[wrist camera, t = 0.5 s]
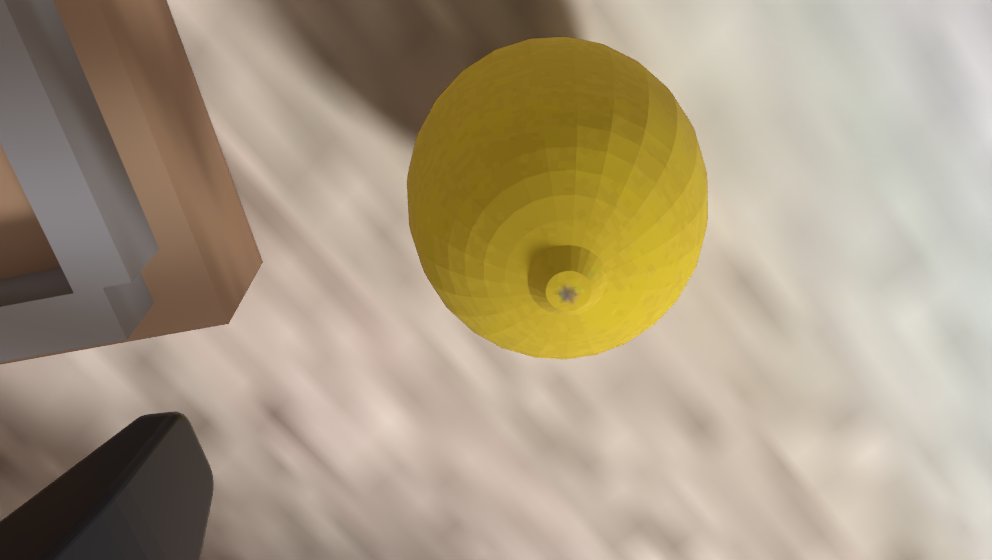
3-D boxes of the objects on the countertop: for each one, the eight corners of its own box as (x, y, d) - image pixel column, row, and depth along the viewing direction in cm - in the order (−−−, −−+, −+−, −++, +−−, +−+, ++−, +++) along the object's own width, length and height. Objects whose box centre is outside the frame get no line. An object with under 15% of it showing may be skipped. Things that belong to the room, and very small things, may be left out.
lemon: (377, 90, 19) (305, 240, 12) (592, -49, 18) (649, 29, 11) (507, 275, 22) (508, 493, 14) (708, 163, 20) (819, 345, 13)
